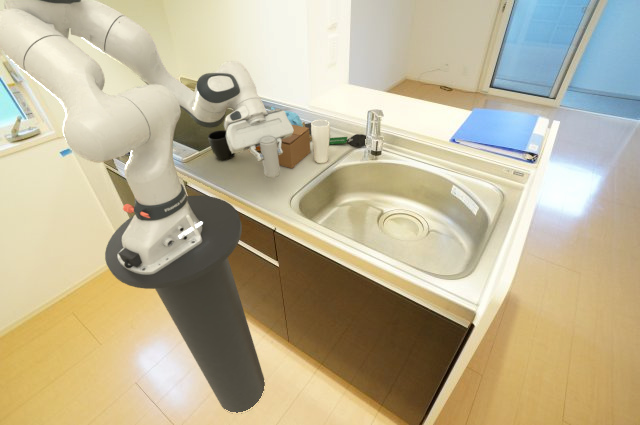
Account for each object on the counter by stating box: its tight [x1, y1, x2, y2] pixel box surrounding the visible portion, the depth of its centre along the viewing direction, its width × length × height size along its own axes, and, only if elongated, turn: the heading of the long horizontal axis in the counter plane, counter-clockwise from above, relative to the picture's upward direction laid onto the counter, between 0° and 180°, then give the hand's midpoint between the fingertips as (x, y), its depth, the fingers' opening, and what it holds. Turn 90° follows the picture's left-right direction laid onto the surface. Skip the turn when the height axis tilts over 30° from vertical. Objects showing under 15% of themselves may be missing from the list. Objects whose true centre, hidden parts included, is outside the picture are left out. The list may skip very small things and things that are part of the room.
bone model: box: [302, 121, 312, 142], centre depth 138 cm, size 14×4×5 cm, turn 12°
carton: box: [277, 124, 311, 169], centre depth 120 cm, size 14×12×10 cm
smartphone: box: [305, 122, 312, 136], centre depth 141 cm, size 7×1×15 cm
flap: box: [281, 134, 300, 144], centre depth 115 cm, size 7×12×1 cm, turn 62°
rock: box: [346, 133, 367, 148], centre depth 129 cm, size 9×7×5 cm
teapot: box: [270, 106, 303, 127], centre depth 135 cm, size 13×11×18 cm
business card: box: [329, 136, 349, 145], centre depth 131 cm, size 9×1×5 cm
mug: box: [207, 129, 236, 161], centre depth 121 cm, size 8×12×10 cm
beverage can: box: [260, 136, 281, 179], centre depth 94 cm, size 5×5×12 cm
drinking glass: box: [310, 119, 331, 164], centre depth 116 cm, size 7×7×15 cm
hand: (270, 157), depth 94 cm, fingers closed on beverage can, 5 cm apart
